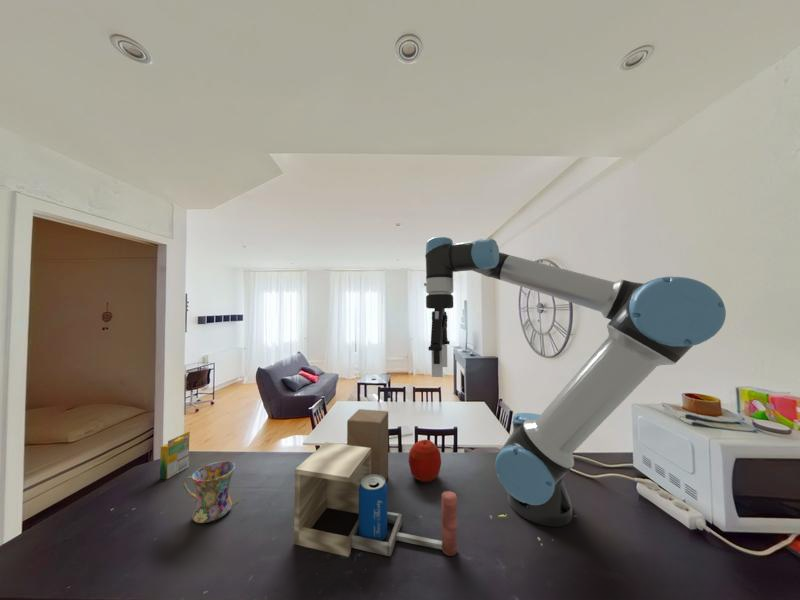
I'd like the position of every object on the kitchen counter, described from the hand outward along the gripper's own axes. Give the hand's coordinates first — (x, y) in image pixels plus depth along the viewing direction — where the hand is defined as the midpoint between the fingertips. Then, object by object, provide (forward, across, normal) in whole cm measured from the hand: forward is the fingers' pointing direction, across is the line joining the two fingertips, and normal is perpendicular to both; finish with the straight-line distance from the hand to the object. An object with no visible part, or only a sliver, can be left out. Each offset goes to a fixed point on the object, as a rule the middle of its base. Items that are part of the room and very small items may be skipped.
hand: (440, 371), depth 76 cm
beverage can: (+35, +15, -14) cm, 41 cm away
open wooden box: (+35, +15, -24) cm, 45 cm away
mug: (+35, +19, -57) cm, 69 cm away
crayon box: (+35, +7, -84) cm, 91 cm away
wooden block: (+35, -3, -22) cm, 41 cm away
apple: (+35, -10, -6) cm, 37 cm away
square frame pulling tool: (+34, +15, -7) cm, 38 cm away
